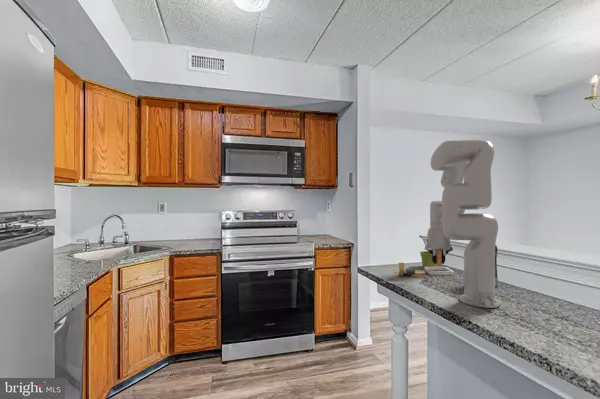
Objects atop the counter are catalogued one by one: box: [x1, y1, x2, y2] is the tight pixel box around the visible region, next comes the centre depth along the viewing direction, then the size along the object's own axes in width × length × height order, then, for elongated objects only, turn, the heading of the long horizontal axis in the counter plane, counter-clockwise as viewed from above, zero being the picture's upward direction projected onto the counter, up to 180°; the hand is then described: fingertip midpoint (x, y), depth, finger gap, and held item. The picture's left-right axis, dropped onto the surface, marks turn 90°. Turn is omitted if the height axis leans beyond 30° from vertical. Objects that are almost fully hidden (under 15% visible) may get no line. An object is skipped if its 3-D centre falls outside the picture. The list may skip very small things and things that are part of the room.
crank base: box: [393, 269, 430, 279], centre depth 147 cm, size 14×14×3 cm
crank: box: [398, 262, 416, 276], centre depth 144 cm, size 11×4×6 cm, turn 131°
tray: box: [423, 266, 456, 278], centre depth 149 cm, size 11×11×2 cm
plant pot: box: [419, 250, 437, 268], centre depth 161 cm, size 9×9×9 cm
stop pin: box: [435, 249, 443, 267], centre depth 149 cm, size 3×3×8 cm
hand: (438, 262), depth 149 cm, fingers closed on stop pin, 3 cm apart
